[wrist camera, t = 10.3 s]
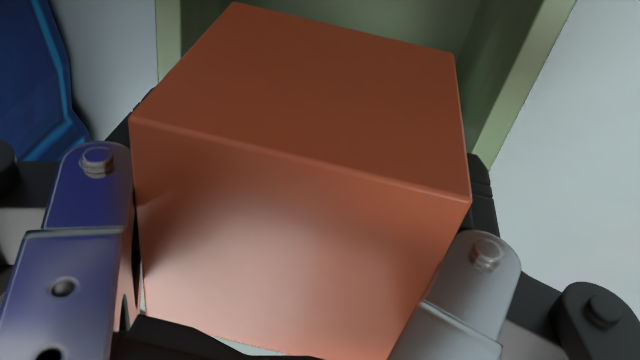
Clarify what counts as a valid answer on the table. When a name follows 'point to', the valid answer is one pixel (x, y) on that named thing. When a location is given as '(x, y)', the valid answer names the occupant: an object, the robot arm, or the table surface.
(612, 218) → the table surface
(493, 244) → the robot arm
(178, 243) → the block
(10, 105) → the book
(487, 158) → the green open box
